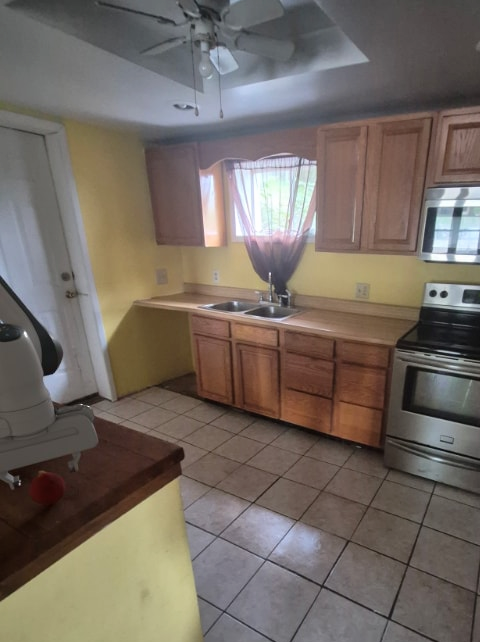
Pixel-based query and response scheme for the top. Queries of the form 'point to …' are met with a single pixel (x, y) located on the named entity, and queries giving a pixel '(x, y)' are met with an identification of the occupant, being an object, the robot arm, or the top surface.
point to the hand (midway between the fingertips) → (46, 478)
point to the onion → (47, 488)
